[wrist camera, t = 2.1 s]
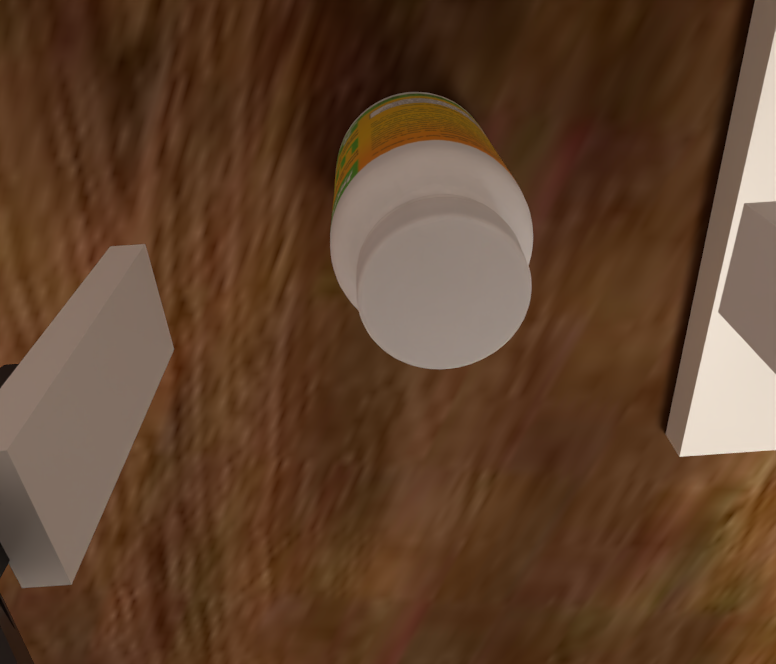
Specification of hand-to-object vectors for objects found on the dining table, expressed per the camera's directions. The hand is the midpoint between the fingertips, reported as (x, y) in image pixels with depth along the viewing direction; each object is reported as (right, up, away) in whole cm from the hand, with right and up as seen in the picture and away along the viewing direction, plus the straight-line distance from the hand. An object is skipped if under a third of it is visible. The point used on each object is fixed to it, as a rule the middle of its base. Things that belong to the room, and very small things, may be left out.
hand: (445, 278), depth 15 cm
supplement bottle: (0, +5, +8) cm, 10 cm away
